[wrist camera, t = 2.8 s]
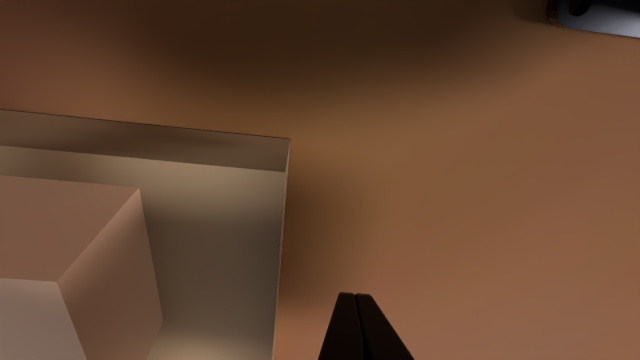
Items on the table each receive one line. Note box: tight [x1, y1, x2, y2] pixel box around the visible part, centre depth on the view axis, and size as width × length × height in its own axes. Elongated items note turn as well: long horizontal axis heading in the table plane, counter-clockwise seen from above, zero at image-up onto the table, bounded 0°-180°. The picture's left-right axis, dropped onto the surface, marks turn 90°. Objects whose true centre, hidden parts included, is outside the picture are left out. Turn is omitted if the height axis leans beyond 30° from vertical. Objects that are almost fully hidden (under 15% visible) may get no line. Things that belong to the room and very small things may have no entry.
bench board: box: [0, 110, 290, 360], centre depth 12 cm, size 11×14×2 cm
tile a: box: [0, 175, 163, 360], centre depth 8 cm, size 5×5×3 cm
